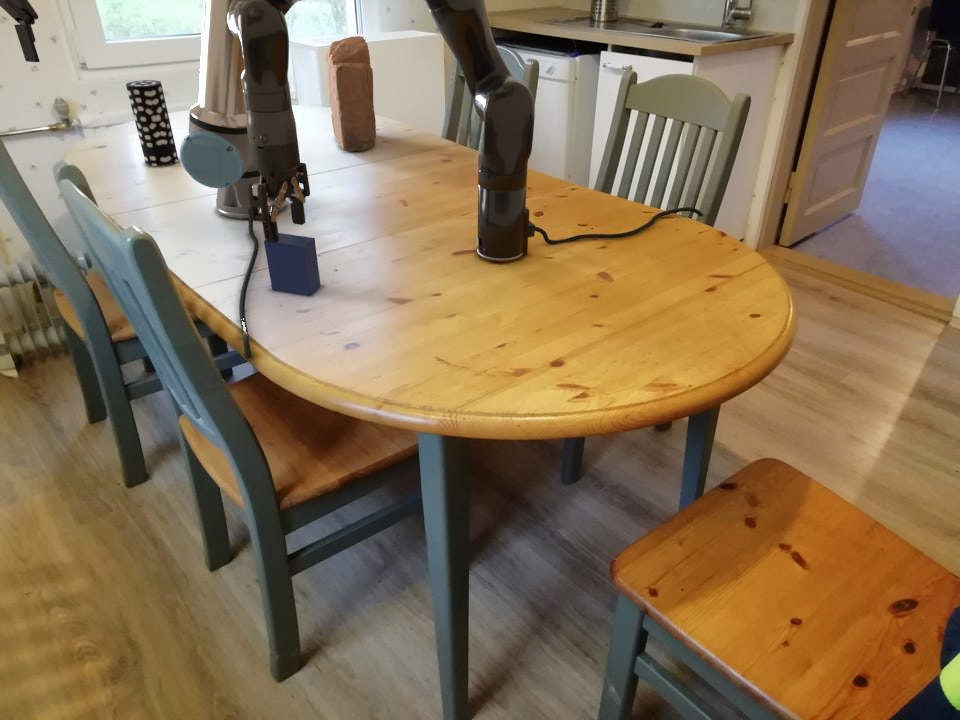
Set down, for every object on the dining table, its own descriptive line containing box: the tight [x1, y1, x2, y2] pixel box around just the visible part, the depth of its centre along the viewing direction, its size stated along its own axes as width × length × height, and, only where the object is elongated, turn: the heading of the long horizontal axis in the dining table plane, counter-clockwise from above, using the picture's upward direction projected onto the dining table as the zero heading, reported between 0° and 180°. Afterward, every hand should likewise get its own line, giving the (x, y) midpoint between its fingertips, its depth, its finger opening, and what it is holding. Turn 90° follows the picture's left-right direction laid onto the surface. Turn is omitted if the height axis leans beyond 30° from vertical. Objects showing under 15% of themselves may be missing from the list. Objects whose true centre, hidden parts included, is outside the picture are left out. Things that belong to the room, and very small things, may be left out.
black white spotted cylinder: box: [125, 79, 179, 167], centre depth 181 cm, size 8×8×20 cm
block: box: [263, 232, 322, 297], centre depth 122 cm, size 4×8×10 cm, turn 73°
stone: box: [325, 35, 377, 152], centre depth 197 cm, size 22×11×28 cm, turn 18°
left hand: (3, 67), depth 130 cm, fingers open, 13 cm apart
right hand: (286, 232), depth 118 cm, fingers open, 8 cm apart
